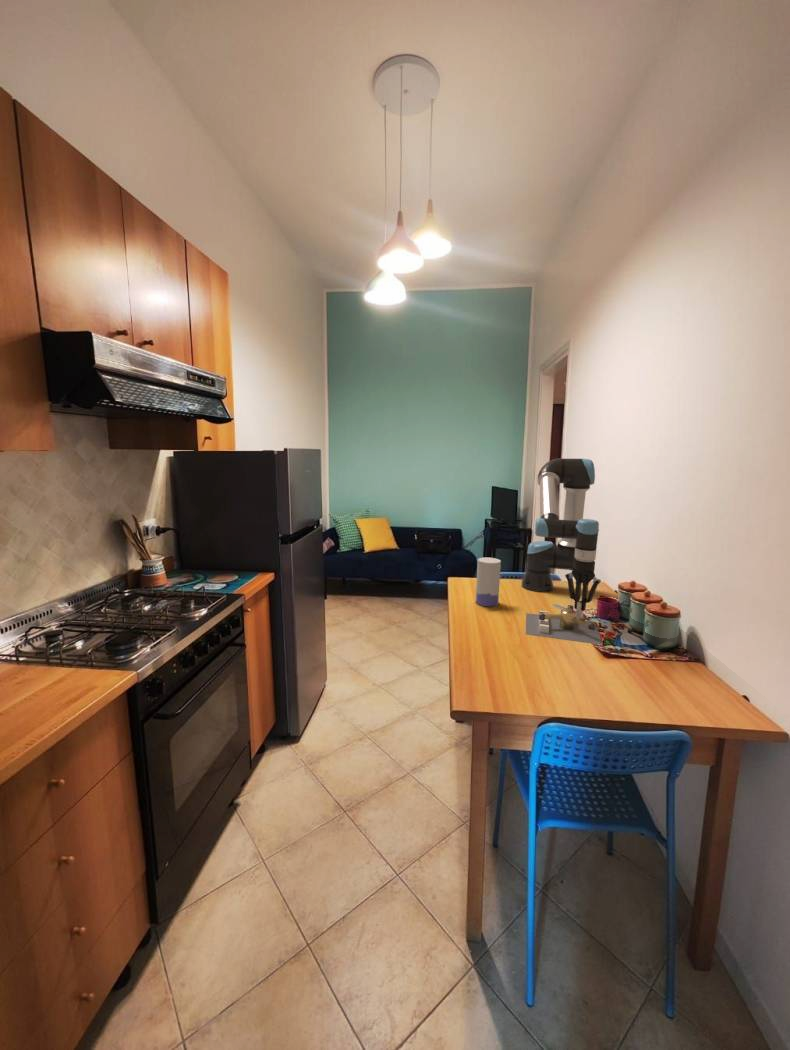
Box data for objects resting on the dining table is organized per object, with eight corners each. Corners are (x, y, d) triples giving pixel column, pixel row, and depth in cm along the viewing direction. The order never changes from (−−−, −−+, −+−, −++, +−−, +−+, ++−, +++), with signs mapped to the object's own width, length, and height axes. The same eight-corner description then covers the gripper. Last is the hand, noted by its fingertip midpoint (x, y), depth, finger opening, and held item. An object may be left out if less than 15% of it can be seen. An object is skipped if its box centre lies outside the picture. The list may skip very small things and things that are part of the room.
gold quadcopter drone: (567, 616, 174) (569, 599, 173) (609, 631, 159) (610, 614, 158) (535, 625, 164) (537, 608, 162) (577, 643, 149) (578, 624, 148)
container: (496, 599, 196) (499, 557, 193) (499, 607, 186) (502, 563, 183) (474, 598, 197) (476, 556, 194) (476, 606, 187) (478, 562, 184)
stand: (525, 615, 177) (526, 606, 177) (593, 624, 170) (594, 614, 169) (525, 637, 157) (526, 627, 156) (602, 648, 149) (604, 637, 148)
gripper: (563, 558, 166) (558, 615, 170) (599, 564, 157) (593, 624, 161) (571, 554, 171) (565, 610, 175) (605, 560, 163) (599, 619, 167)
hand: (578, 617), depth 168 cm, fingers closed
